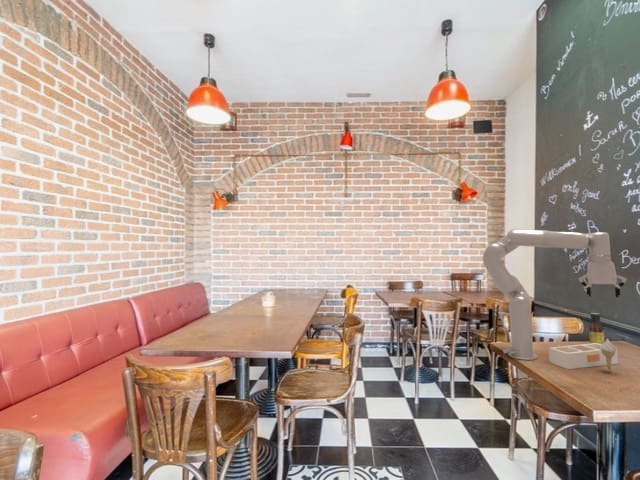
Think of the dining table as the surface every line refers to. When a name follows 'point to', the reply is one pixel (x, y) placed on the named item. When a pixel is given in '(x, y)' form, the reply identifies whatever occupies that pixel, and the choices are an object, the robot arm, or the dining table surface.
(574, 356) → the compartment tray
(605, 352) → the ice cream cone
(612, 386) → the dining table surface
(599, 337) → the sauce bottle
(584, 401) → the dining table surface
